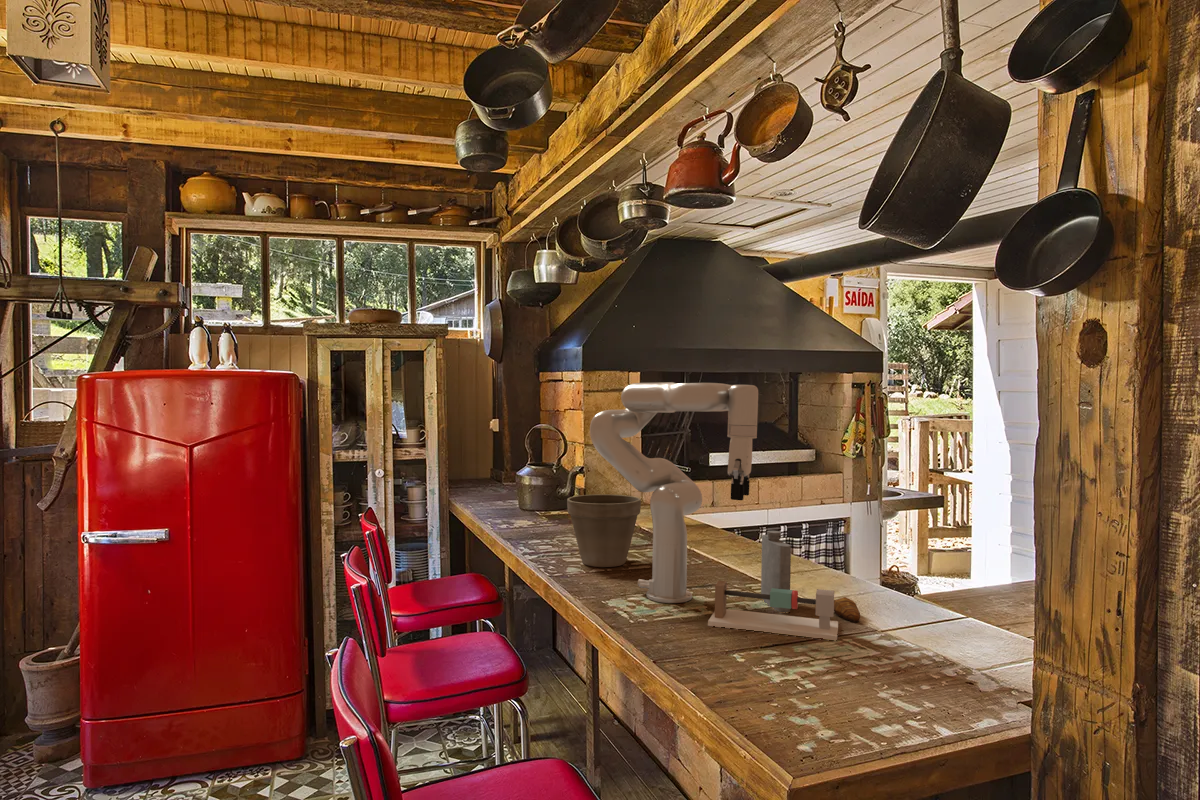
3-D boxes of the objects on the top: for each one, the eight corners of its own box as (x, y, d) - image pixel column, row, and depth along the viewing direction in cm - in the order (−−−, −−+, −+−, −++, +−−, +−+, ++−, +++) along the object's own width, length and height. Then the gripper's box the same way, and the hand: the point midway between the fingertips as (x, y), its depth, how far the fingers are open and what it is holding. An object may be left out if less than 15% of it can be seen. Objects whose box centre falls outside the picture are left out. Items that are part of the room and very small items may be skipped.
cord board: (707, 625, 178) (708, 587, 178) (716, 612, 189) (717, 575, 189) (836, 641, 168) (837, 600, 168) (838, 626, 179) (838, 587, 179)
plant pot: (555, 557, 250) (556, 494, 250) (619, 552, 260) (620, 491, 260) (584, 574, 227) (585, 505, 227) (653, 567, 238) (654, 501, 238)
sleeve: (769, 606, 177) (770, 591, 177) (771, 602, 180) (771, 588, 180) (791, 608, 175) (791, 593, 175) (792, 604, 179) (792, 590, 179)
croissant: (821, 608, 194) (821, 590, 194) (845, 608, 195) (845, 589, 195) (843, 624, 181) (843, 604, 181) (869, 624, 182) (869, 604, 182)
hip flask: (791, 613, 189) (792, 536, 189) (776, 613, 189) (777, 536, 189) (770, 596, 205) (771, 525, 205) (756, 596, 205) (757, 525, 204)
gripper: (733, 429, 199) (731, 492, 199) (721, 432, 183) (719, 500, 183) (761, 431, 196) (759, 494, 197) (752, 434, 180) (749, 503, 180)
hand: (739, 497), depth 190 cm, fingers open, 9 cm apart
